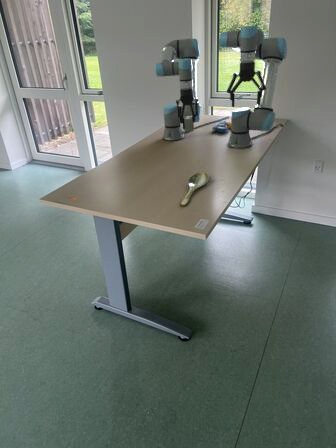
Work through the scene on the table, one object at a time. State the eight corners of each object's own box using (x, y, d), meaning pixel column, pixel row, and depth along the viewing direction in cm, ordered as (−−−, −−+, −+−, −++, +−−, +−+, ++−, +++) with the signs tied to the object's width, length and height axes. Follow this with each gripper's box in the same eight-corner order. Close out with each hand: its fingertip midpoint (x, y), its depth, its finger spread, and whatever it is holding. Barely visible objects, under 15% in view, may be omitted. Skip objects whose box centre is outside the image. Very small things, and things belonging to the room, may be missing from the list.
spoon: (193, 209, 156) (193, 205, 155) (172, 207, 159) (171, 203, 158) (212, 175, 182) (212, 172, 181) (193, 174, 186) (193, 170, 184)
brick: (183, 128, 210) (183, 116, 206) (191, 128, 210) (191, 115, 206) (185, 132, 204) (184, 119, 200) (192, 131, 205) (192, 118, 201)
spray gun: (237, 125, 262) (219, 125, 268) (237, 120, 259) (219, 119, 266) (229, 134, 246) (210, 133, 253) (229, 128, 244) (210, 127, 250)
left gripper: (171, 90, 191) (174, 131, 204) (202, 87, 192) (203, 128, 204) (170, 88, 198) (173, 127, 210) (200, 85, 198) (201, 125, 210)
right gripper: (224, 64, 165) (223, 109, 176) (274, 60, 165) (270, 104, 176) (221, 63, 171) (221, 106, 182) (269, 58, 171) (266, 101, 182)
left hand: (188, 128), depth 207 cm, fingers closed on brick, 5 cm apart
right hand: (245, 105), depth 179 cm, fingers open, 13 cm apart
